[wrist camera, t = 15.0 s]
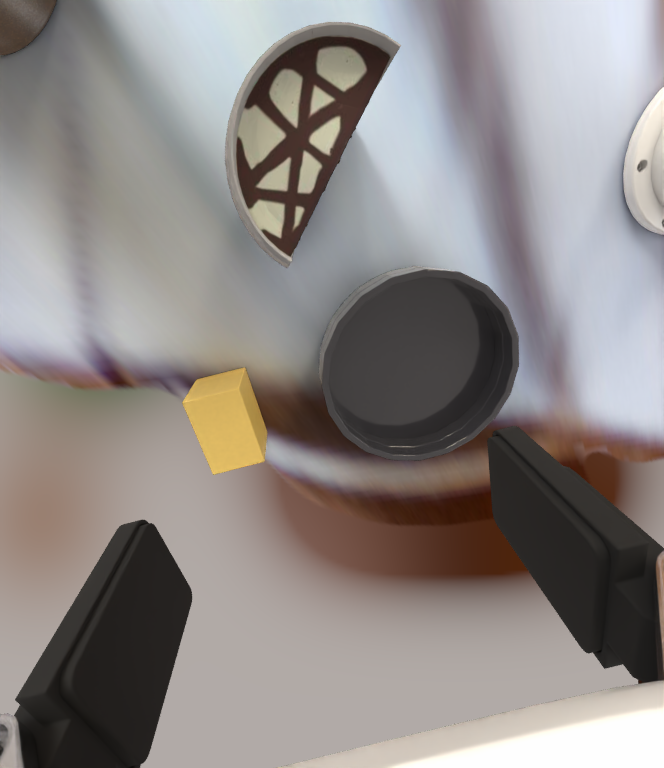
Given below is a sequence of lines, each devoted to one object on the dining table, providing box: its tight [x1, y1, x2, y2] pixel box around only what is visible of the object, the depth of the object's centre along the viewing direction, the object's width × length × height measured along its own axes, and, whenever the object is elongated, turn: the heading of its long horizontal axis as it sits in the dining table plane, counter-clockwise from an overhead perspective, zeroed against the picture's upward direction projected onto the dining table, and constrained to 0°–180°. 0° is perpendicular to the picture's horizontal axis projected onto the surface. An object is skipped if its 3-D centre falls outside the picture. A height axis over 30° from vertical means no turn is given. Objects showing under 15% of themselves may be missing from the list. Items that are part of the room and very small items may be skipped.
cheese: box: [182, 368, 267, 475], centre depth 32 cm, size 4×7×5 cm, turn 12°
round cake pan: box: [319, 266, 519, 461], centre depth 33 cm, size 17×17×4 cm
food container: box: [225, 22, 401, 268], centre depth 23 cm, size 12×6×10 cm, turn 150°
